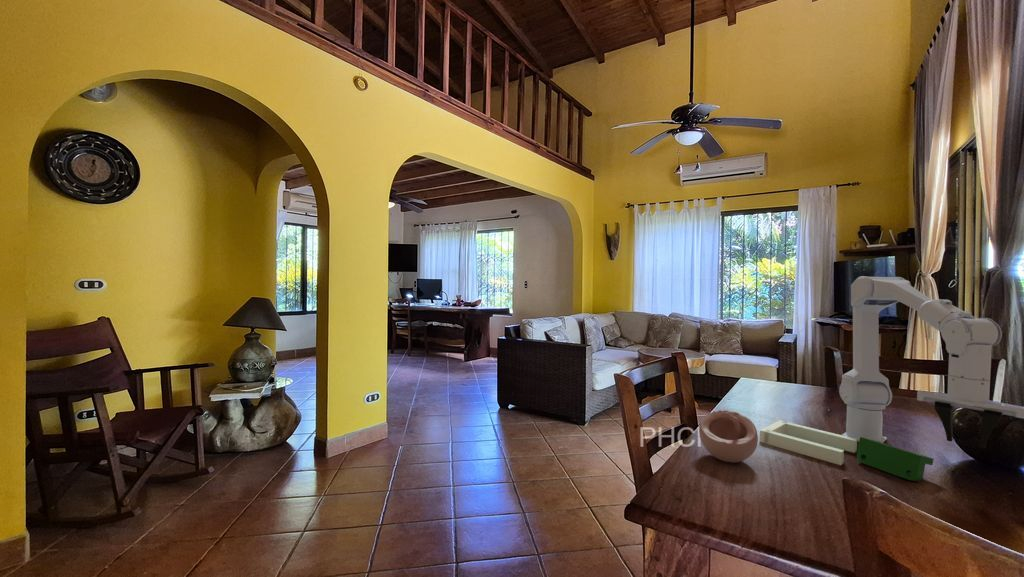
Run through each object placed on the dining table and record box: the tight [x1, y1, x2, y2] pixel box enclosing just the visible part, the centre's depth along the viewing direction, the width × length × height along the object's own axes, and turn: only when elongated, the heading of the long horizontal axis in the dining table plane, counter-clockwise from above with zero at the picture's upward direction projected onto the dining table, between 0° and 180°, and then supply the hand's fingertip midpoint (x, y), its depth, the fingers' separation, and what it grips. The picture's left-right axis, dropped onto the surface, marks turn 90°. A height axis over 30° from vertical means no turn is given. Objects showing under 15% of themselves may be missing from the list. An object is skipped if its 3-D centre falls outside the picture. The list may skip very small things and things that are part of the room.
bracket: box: [759, 419, 858, 466], centre depth 105 cm, size 14×17×3 cm
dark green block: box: [856, 437, 934, 482], centre depth 92 cm, size 12×6×9 cm, turn 14°
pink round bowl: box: [698, 409, 759, 463], centre depth 95 cm, size 12×12×12 cm
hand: (965, 443), depth 84 cm, fingers open, 4 cm apart
